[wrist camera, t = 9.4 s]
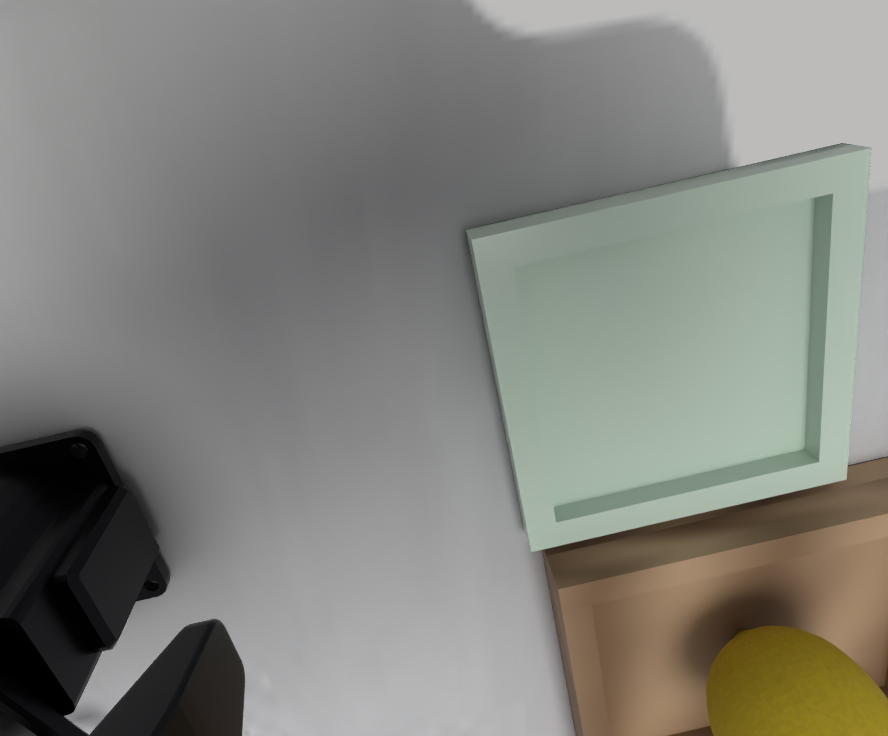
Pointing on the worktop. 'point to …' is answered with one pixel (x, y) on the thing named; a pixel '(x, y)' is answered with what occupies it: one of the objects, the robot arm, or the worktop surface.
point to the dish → (677, 343)
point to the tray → (717, 599)
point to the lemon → (791, 688)
